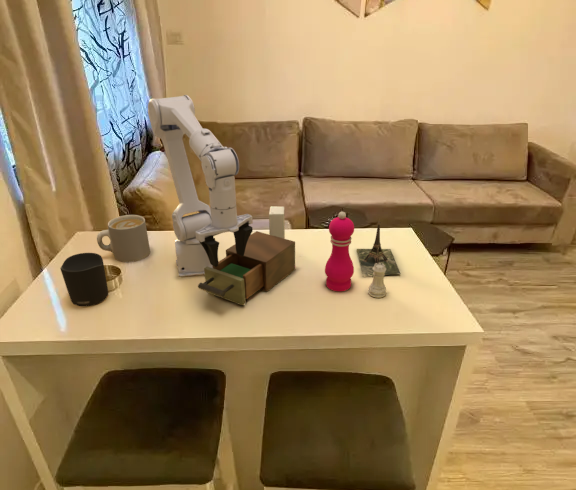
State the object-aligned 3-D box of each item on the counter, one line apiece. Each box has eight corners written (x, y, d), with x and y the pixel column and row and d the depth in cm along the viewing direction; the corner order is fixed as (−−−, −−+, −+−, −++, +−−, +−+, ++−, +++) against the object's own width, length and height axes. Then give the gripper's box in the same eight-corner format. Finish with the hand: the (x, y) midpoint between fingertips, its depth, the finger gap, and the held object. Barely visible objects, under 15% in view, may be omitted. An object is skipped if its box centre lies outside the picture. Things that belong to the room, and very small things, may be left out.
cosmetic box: (284, 253, 138) (284, 214, 132) (269, 253, 138) (268, 214, 132) (285, 243, 143) (284, 205, 137) (270, 243, 143) (269, 205, 138)
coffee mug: (152, 245, 143) (146, 213, 138) (148, 260, 134) (142, 228, 130) (105, 248, 141) (98, 216, 137) (98, 264, 133) (91, 231, 128)
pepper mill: (356, 281, 124) (361, 208, 114) (347, 295, 118) (352, 220, 108) (330, 275, 127) (333, 204, 117) (320, 288, 121) (322, 214, 111)
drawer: (229, 315, 110) (228, 290, 106) (193, 301, 115) (190, 276, 112) (272, 282, 122) (271, 259, 119) (237, 271, 127) (235, 248, 124)
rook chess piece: (387, 290, 120) (390, 262, 116) (384, 299, 116) (387, 271, 112) (369, 287, 121) (372, 259, 117) (366, 296, 118) (368, 268, 114)
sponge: (244, 293, 116) (243, 279, 114) (220, 285, 119) (218, 270, 117) (256, 284, 119) (255, 270, 117) (232, 276, 123) (231, 262, 121)
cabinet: (266, 292, 120) (265, 262, 116) (227, 278, 126) (225, 249, 121) (295, 269, 130) (295, 241, 125) (257, 258, 135) (256, 231, 131)
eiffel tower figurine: (401, 276, 126) (407, 229, 119) (362, 276, 126) (366, 230, 119) (390, 250, 139) (395, 207, 133) (355, 250, 139) (358, 207, 132)
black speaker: (61, 300, 117) (51, 264, 112) (94, 284, 124) (86, 249, 119) (85, 312, 112) (75, 275, 107) (118, 294, 119) (110, 259, 114)
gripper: (206, 219, 99) (212, 276, 106) (260, 201, 108) (262, 255, 114) (187, 210, 104) (194, 265, 110) (240, 193, 112) (243, 245, 119)
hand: (227, 259), depth 113 cm, fingers open, 7 cm apart
